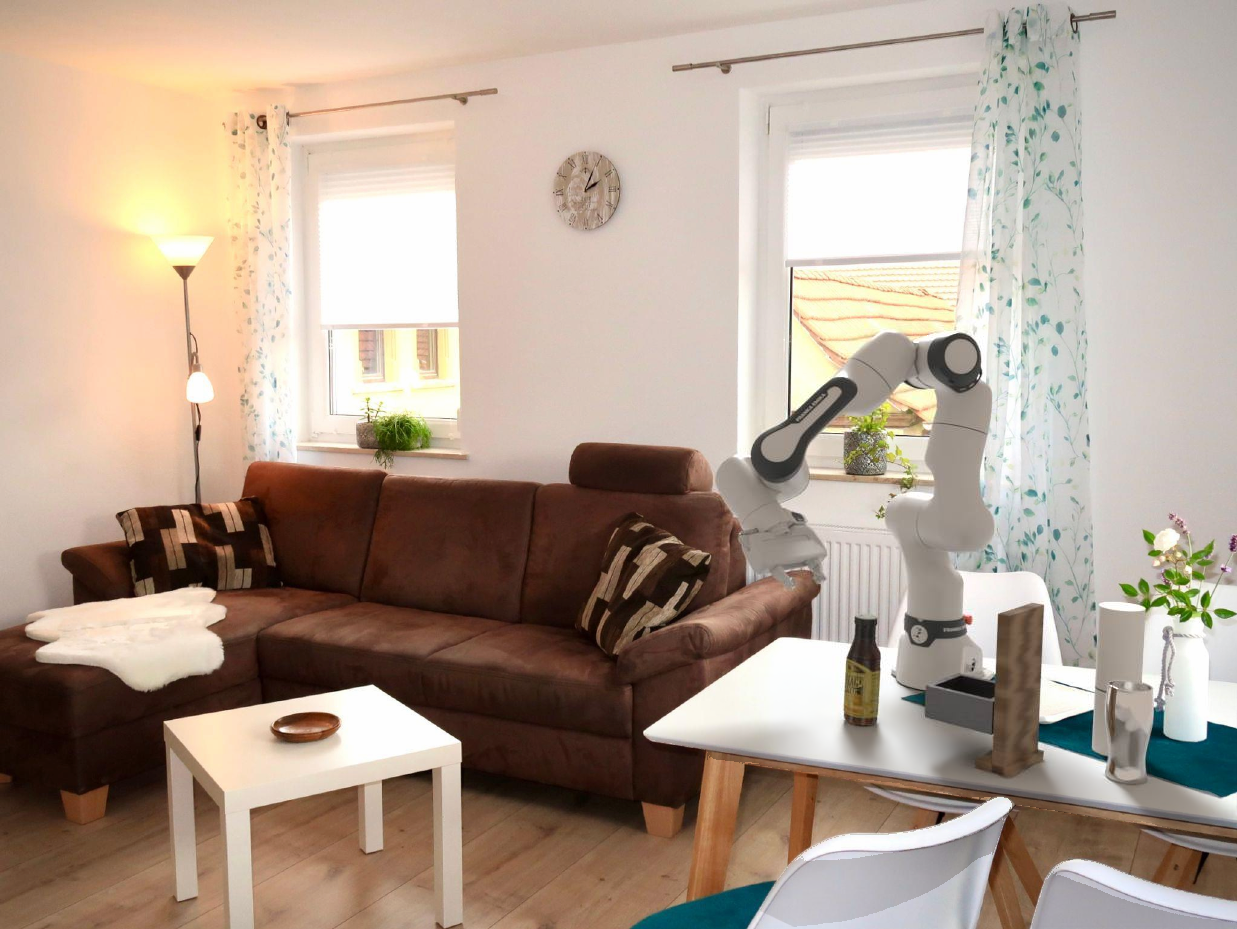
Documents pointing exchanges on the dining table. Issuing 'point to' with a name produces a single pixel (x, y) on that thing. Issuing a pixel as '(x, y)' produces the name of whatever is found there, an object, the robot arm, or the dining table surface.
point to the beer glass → (1128, 729)
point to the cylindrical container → (1116, 658)
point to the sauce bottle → (862, 673)
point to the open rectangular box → (962, 702)
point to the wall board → (1016, 692)
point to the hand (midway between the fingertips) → (807, 584)
